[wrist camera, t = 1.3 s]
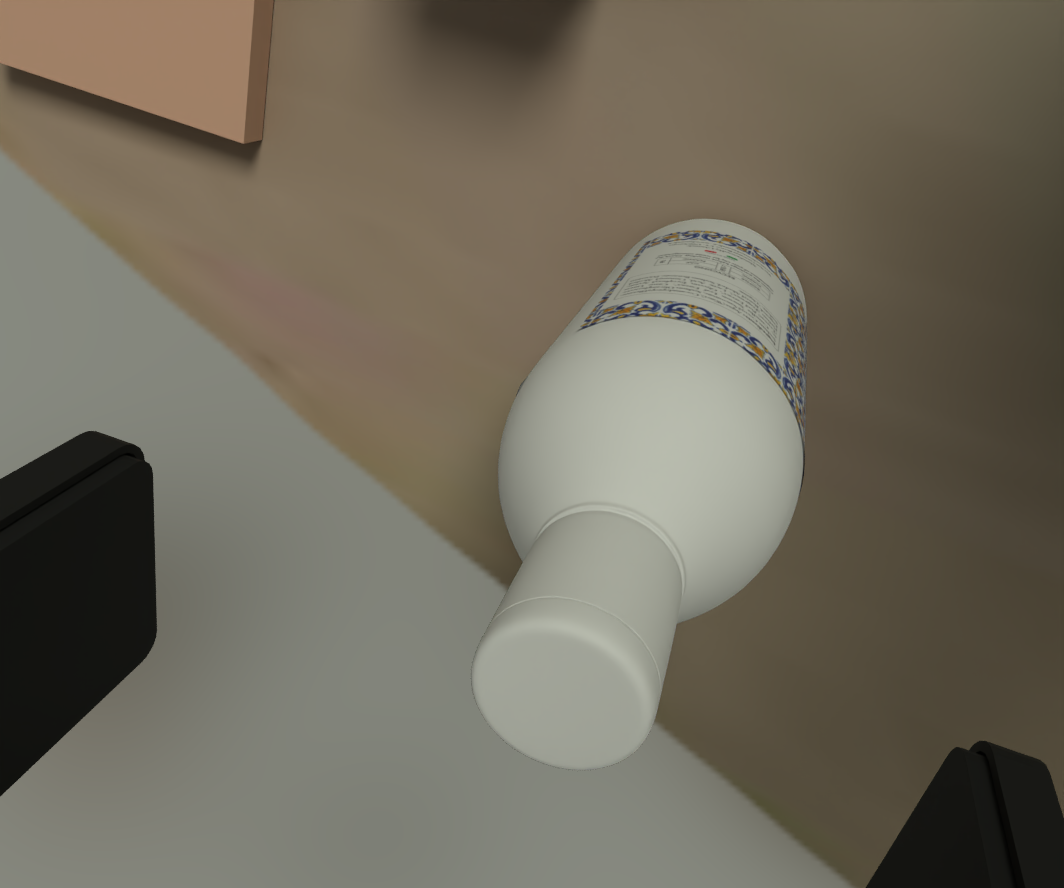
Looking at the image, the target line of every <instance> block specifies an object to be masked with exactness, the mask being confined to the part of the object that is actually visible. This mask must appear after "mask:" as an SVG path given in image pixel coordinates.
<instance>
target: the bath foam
mask: <svg viewBox="0 0 1064 888" xmlns="http://www.w3.org/2000/svg"><path fill="white" fill-rule="evenodd" d="M806 366H807V311H806V302H805V297H804V293H803V289H802V286H801V284H800V281H799V279H798V277H797V275H796V273H795V271H794V269H793V268H792V266H791V265H790V263H789V262H788V261H787V259H786V258H785V257H784V256H783V255H782V253H781V252H780V251H779V250H778V249H777V248H776V247H775V246H774V245H773V244H772V243H771V242H769V241H768V240H767V239H766V238H764V237H763V236H762V235H760V234H758V233H757V232H755V231H753V230H751V229H749V228H747V227H744V226H742V225H739V224H736V223H732V222H728V221H724V220H717V219H693V220H686V221H681V222H677V223H674V224H671V225H668V226H665V227H663V228H661V229H659V230H657V231H655V232H653V233H651V234H649V235H648V236H646V237H645V238H643V239H642V240H641V241H639V242H638V243H637V244H636V245H635V246H634V247H633V248H631V249H630V250H629V252H628V253H627V254H626V255H625V256H624V257H623V258H622V259H621V261H620V262H619V263H618V264H617V266H616V267H615V268H614V269H613V270H612V272H611V273H610V274H609V275H608V277H607V278H606V279H605V280H604V282H603V283H602V284H601V285H600V286H599V288H598V289H597V290H596V291H595V293H594V294H593V295H592V296H591V298H590V299H589V300H588V301H587V302H586V304H585V305H584V306H583V307H582V309H581V310H580V311H579V312H578V313H577V315H576V316H575V317H574V318H573V320H572V321H571V322H570V323H569V325H568V326H567V327H566V328H565V329H564V331H563V332H562V333H561V334H560V336H559V337H558V338H557V339H556V341H555V342H554V343H553V344H552V345H551V347H550V348H549V349H548V350H547V352H546V353H545V354H544V355H543V357H542V358H541V359H540V360H539V362H538V363H537V364H536V366H535V367H534V368H533V370H532V371H531V372H530V374H529V375H528V376H527V378H526V379H525V380H524V381H523V383H522V384H521V385H520V387H519V390H518V393H517V395H516V398H515V400H514V402H513V405H512V407H511V410H510V412H509V415H508V418H507V421H506V424H505V428H504V431H503V435H502V440H501V446H500V453H499V461H498V487H499V496H500V502H501V507H502V512H503V516H504V520H505V523H506V526H507V529H508V532H509V534H510V537H511V539H512V542H513V544H514V546H515V548H516V550H517V552H518V554H519V556H520V558H521V560H522V562H523V563H522V565H521V567H520V569H519V570H518V572H517V574H516V576H515V578H514V580H513V581H512V583H511V585H510V587H509V589H508V591H507V593H506V594H505V596H504V598H503V600H502V602H501V604H500V606H499V607H498V609H497V611H496V613H495V615H494V617H493V619H492V621H491V622H490V624H489V626H488V628H487V630H486V632H485V633H484V636H483V637H482V639H481V641H480V643H479V645H478V647H477V650H476V652H475V656H474V659H473V663H472V670H471V685H472V691H473V695H474V698H475V701H476V704H477V706H478V708H479V710H480V712H481V714H482V715H483V717H484V719H485V720H486V722H487V723H488V724H489V726H490V727H491V728H492V729H493V731H494V732H495V733H496V734H497V735H498V736H499V737H500V738H501V739H502V740H503V741H505V742H506V743H507V744H508V745H510V746H511V747H512V748H514V749H515V750H517V751H518V752H520V753H522V754H523V755H525V756H527V757H529V758H531V759H533V760H535V761H538V762H541V763H543V764H546V765H550V766H553V767H557V768H562V769H568V770H593V769H599V768H604V767H608V766H611V765H614V764H616V763H619V762H621V761H623V760H624V759H626V758H628V757H629V756H630V755H632V754H633V753H634V752H635V751H636V750H637V749H638V748H639V747H640V746H641V745H642V743H643V742H644V741H645V739H646V738H647V736H648V735H649V733H650V730H651V728H652V726H653V723H654V720H655V717H656V713H657V709H658V705H659V700H660V696H661V692H662V687H663V683H664V678H665V674H666V670H667V665H668V661H669V657H670V652H671V648H672V643H673V639H674V634H675V630H676V625H677V623H680V622H683V621H686V620H689V619H692V618H694V617H697V616H699V615H701V614H703V613H705V612H707V611H710V610H712V609H713V608H715V607H717V606H719V605H721V604H722V603H724V602H725V601H727V600H728V599H729V598H731V597H732V596H734V595H735V594H737V593H738V592H739V591H740V590H742V589H743V588H744V587H745V586H746V585H747V584H748V583H749V582H750V581H751V580H752V579H753V578H754V577H755V576H756V575H757V574H758V573H759V572H760V571H761V570H762V568H763V567H764V566H765V565H766V563H767V562H768V561H769V559H770V558H771V556H772V555H773V553H774V552H775V551H776V549H777V547H778V546H779V544H780V542H781V540H782V538H783V536H784V534H785V532H786V530H787V528H788V526H789V524H790V521H791V519H792V516H793V513H794V511H795V507H796V504H797V500H798V498H799V494H800V491H801V487H802V482H803V476H804V462H805V414H806Z"/></svg>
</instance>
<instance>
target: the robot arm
mask: <svg viewBox="0 0 1064 888" xmlns="http://www.w3.org/2000/svg"><path fill="white" fill-rule="evenodd" d="M155 580H156V579H155V538H154V499H153V472H152V468H151V466H150V464H149V463H147V462H145V460H144V454H143V452H142V451H141V449H140V448H139V447H137V446H136V445H134V444H131V443H128V442H125V441H122V440H119V439H117V438H114V437H111V436H108V435H105V434H102V433H99V432H96V431H88V432H85V433H82V434H80V435H78V436H76V437H75V438H73V439H71V440H69V441H67V442H66V443H64V444H62V445H60V446H59V447H57V448H55V449H53V450H51V451H49V452H48V453H46V454H44V455H42V456H41V457H39V458H37V459H35V460H34V461H32V462H30V463H28V464H26V465H25V466H23V467H21V468H19V469H18V470H16V471H14V472H12V473H10V474H9V475H7V476H5V477H3V478H1V479H0V796H1V795H2V794H3V793H4V792H5V791H6V790H7V789H9V788H10V787H11V786H12V785H13V784H14V783H15V782H16V781H17V780H18V779H19V778H20V777H21V776H22V775H23V774H24V773H25V772H26V771H28V770H29V768H31V767H32V766H33V765H34V764H35V763H36V762H37V761H38V760H39V759H40V758H41V757H42V756H43V755H44V754H45V753H46V752H48V751H49V749H51V748H52V747H53V746H54V745H55V744H56V743H57V742H58V741H59V740H60V739H61V738H62V737H63V736H64V735H65V734H66V733H67V732H69V731H70V730H71V729H72V728H73V727H74V726H75V725H76V724H77V723H78V722H79V721H80V720H81V719H82V718H83V717H84V716H85V715H86V714H87V713H89V712H90V711H91V710H92V709H93V708H94V707H95V706H96V705H97V704H98V703H99V702H100V701H101V700H102V699H103V698H104V697H105V696H106V695H107V694H109V692H111V691H112V690H113V689H114V688H115V687H116V686H117V685H118V684H119V683H120V682H121V681H122V680H123V679H124V678H125V677H126V676H127V675H129V674H130V673H131V672H132V671H133V670H134V669H135V668H136V667H137V666H138V665H139V664H140V663H141V662H142V661H143V660H144V659H145V658H146V657H147V655H148V653H149V652H150V650H151V648H152V646H153V644H154V641H155V638H156V633H157V618H156V581H155ZM866 888H1064V818H1063V815H1062V811H1061V808H1060V805H1059V802H1058V798H1057V795H1056V792H1055V789H1054V785H1053V782H1052V779H1051V775H1050V773H1049V771H1048V768H1047V766H1046V765H1045V764H1044V763H1043V762H1042V761H1041V760H1038V759H1036V758H1033V757H1030V756H1027V755H1024V754H1021V753H1018V752H1015V751H1013V750H1010V749H1007V748H1004V747H1001V746H998V745H995V744H992V743H990V742H987V741H979V742H977V743H975V744H974V745H973V746H972V747H971V749H970V750H966V749H963V748H959V747H956V748H954V749H953V750H952V751H951V752H950V753H949V754H948V756H947V757H946V759H945V761H944V762H943V764H942V765H941V767H940V769H939V770H938V772H937V774H936V775H935V777H934V778H933V780H932V782H931V783H930V785H929V786H928V788H927V790H926V791H925V793H924V795H923V796H922V798H921V799H920V801H919V803H918V804H917V806H916V807H915V809H914V811H913V812H912V814H911V816H910V817H909V819H908V820H907V822H906V824H905V825H904V827H903V828H902V830H901V832H900V833H899V835H898V837H897V838H896V840H895V841H894V843H893V845H892V846H891V848H890V849H889V851H888V853H887V854H886V856H885V858H884V859H883V861H882V862H881V864H880V866H879V867H878V869H877V870H876V872H875V874H874V875H873V877H872V879H871V880H870V882H869V883H868V885H867V887H866Z"/></svg>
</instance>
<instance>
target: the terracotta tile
mask: <svg viewBox="0 0 1064 888" xmlns="http://www.w3.org/2000/svg"><path fill="white" fill-rule="evenodd" d="M273 4H274V0H0V63H2V64H5V65H8V66H11V67H14V68H17V69H20V70H23V71H26V72H29V73H32V74H35V75H38V76H41V77H44V78H47V79H50V80H53V81H56V82H59V83H62V84H65V85H68V86H71V87H74V88H77V89H80V90H83V91H86V92H89V93H92V94H95V95H98V96H101V97H104V98H107V99H110V100H113V101H116V102H119V103H122V104H125V105H128V106H131V107H134V108H137V109H140V110H143V111H146V112H149V113H152V114H156V115H159V116H162V117H165V118H168V119H171V120H174V121H177V122H180V123H183V124H186V125H189V126H192V127H195V128H198V129H201V130H204V131H207V132H210V133H213V134H216V135H219V136H222V137H225V138H228V139H231V140H234V141H237V142H240V143H243V144H245V143H250V142H255V141H259V140H262V134H263V122H264V110H265V99H266V87H267V75H268V63H269V52H270V40H271V28H272V16H273Z"/></svg>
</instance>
